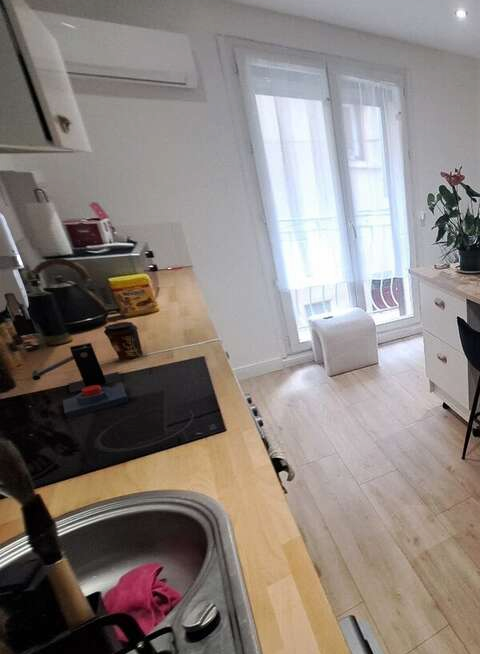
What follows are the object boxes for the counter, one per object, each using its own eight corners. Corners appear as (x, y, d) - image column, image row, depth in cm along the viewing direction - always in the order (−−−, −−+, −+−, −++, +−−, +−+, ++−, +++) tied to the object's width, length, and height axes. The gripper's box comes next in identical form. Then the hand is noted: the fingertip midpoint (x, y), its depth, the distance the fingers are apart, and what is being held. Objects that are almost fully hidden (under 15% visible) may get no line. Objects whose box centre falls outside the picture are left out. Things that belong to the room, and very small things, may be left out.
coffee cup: (109, 362, 142) (95, 326, 137) (138, 353, 149) (126, 319, 144) (124, 366, 139) (110, 330, 134) (153, 357, 146) (141, 322, 141)
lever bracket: (71, 396, 119) (54, 356, 115) (69, 386, 125) (52, 348, 120) (123, 383, 127) (108, 345, 122) (119, 375, 132) (105, 338, 128)
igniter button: (84, 398, 111) (81, 392, 110) (83, 393, 113) (80, 388, 113) (102, 393, 114) (100, 387, 113) (101, 389, 116) (99, 383, 115)
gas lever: (37, 382, 115) (29, 376, 113) (36, 377, 118) (29, 371, 116) (93, 354, 122) (86, 348, 120) (91, 350, 125) (84, 344, 123)
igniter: (67, 420, 107) (61, 406, 106) (65, 407, 113) (59, 394, 112) (129, 402, 116) (124, 390, 114) (124, 391, 122) (119, 379, 121)
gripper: (-25, 260, 101) (5, 330, 107) (-30, 269, 92) (3, 345, 98) (22, 257, 106) (48, 324, 113) (21, 265, 97) (50, 337, 103)
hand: (27, 333), depth 105 cm, fingers closed
